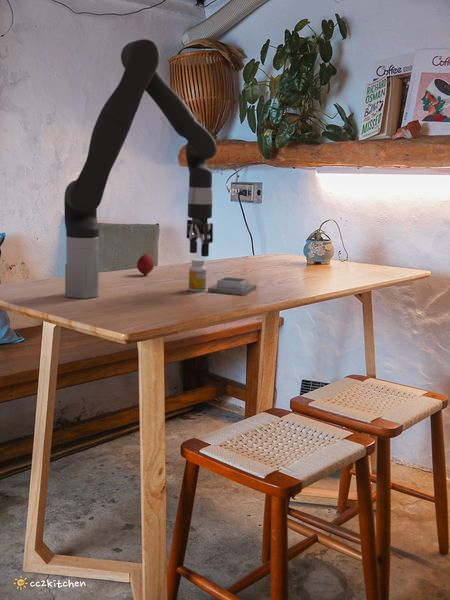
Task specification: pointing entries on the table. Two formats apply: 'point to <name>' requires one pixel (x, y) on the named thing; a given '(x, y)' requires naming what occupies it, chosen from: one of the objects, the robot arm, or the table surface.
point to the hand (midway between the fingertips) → (198, 254)
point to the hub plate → (232, 286)
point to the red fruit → (145, 264)
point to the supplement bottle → (197, 276)
